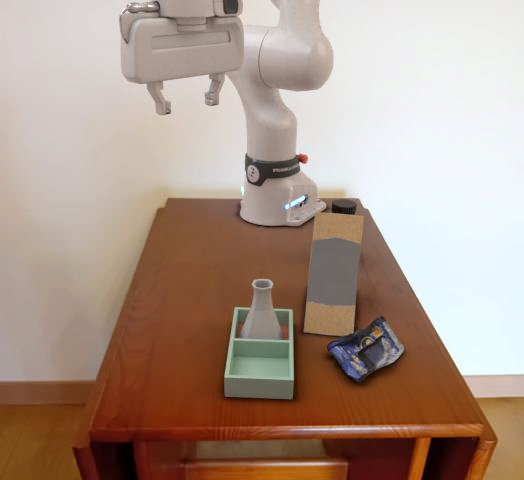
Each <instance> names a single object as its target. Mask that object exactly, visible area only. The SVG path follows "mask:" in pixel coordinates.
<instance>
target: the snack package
mask: <svg viewBox="0 0 524 480" xmlns="http://www.w3.org/2000/svg"><path fill="white" fill-rule="evenodd" d="M326 349H327V352H329V354H328V356H329V357H330V356H331V355H332V356H333V357H334V358H335V360H336V361H337V362H338V364H339V365H338V366H339V367H340V368H341V369H342V372H343V373H344V375H345V376H346V377H348V378H349V379H351V380H352V381H354V382H355V383H356V384H362V382H364V381H365V380H366V379H367V377H368V376H369V375H370V374H372V373H373V372H375V371H377V370H380V369H381V368H383V367H387V366H389V365H390V364H392V363H395V361H396V360H397V359H399V357H401V355H402V354H403V353H404V350H405V347H404V344H401V342H400V341H399V339H398V337H397V335H396V334H395V332H394V331H393V329H392V328H391V326H390V324H389V322H388V320H387V318H386V317H385V316H382V315H381V316H379V317H376V318H375V319H374V320H373V321H372V322H370V323H369V324H368V325H367V326H365V327H364V328H362V329H358V330H356V331H353V333H351V334H349V335H345V336H338V338H336V339H334V340H331V342H329V343H328V344H327V346H326Z"/></svg>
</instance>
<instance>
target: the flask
mask: <svg viewBox="0 0 524 480" xmlns="http://www.w3.org/2000/svg"><path fill="white" fill-rule="evenodd" d="M251 287H252V289H253V296H252V301H251V306H250V307H249V308H250V311H249V314H248V316H247V319H246V321H245V324H244V326H243V328H242V330H241V333H240V335H239V338H243V339H268V340H283V338H284V336H283V333H282V330H281V328H280V325H279V323H278V320H277V317H276V314H275V311H274V309H275V308H274V306H273V305H274V304H273V298H272V290H273V287H274V282H273V281H272V280H271V279H268V278H258V279H257V278H256V279H253V281H252V283H251Z"/></svg>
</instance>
